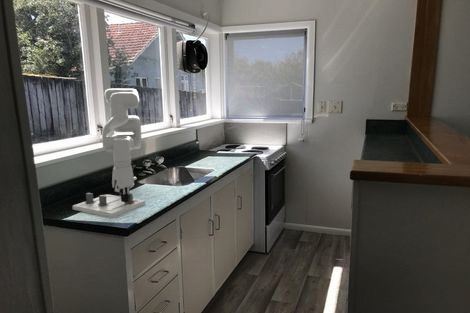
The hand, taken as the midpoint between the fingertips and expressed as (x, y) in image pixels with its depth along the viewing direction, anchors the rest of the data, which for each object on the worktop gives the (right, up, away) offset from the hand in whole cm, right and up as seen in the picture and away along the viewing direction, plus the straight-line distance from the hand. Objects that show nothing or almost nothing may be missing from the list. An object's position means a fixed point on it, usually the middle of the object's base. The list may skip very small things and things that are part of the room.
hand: (124, 201), depth 178 cm
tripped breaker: (+1, -1, +3) cm, 3 cm away
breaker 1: (-18, -1, +4) cm, 19 cm away
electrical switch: (-8, 0, +24) cm, 25 cm away
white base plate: (-9, -3, +4) cm, 10 cm away
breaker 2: (-10, -2, 0) cm, 11 cm away
